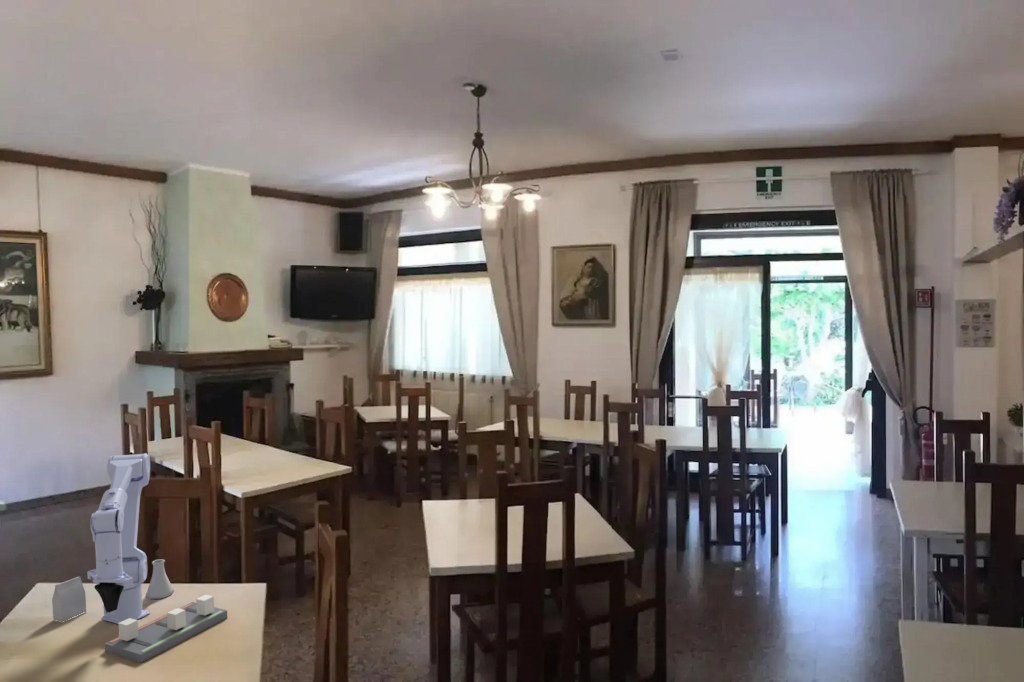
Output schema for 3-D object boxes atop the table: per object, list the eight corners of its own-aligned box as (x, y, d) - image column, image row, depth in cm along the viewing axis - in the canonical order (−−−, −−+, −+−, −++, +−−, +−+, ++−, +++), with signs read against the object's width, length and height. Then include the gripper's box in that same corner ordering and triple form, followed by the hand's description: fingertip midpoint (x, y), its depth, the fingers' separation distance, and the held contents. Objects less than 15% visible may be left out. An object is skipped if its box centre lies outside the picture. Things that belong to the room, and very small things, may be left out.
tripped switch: (119, 638, 177) (118, 623, 177) (130, 633, 180) (129, 618, 180) (127, 641, 176) (126, 625, 176) (138, 635, 179) (137, 620, 179)
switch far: (196, 613, 191) (196, 598, 191) (206, 609, 194) (205, 594, 193) (205, 615, 190) (204, 600, 189) (214, 611, 192) (213, 596, 192)
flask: (162, 600, 205) (160, 566, 205) (140, 599, 207) (138, 564, 206) (179, 590, 212) (177, 557, 212) (157, 588, 214) (155, 555, 213)
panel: (104, 651, 176) (104, 643, 176) (193, 609, 200) (192, 601, 199) (141, 662, 171) (140, 654, 170) (227, 617, 194) (227, 610, 194)
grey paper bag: (86, 612, 198) (84, 577, 197) (62, 623, 192) (60, 586, 191) (77, 610, 200) (75, 575, 199) (53, 620, 194) (51, 584, 193)
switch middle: (167, 627, 183) (167, 612, 183) (177, 622, 186) (177, 607, 185) (176, 630, 182) (175, 614, 181) (185, 625, 184) (185, 610, 184)
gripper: (74, 558, 179) (77, 611, 180) (113, 567, 173) (116, 622, 174) (101, 549, 185) (104, 600, 186) (139, 557, 179) (142, 610, 180)
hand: (111, 610), depth 180 cm, fingers closed
